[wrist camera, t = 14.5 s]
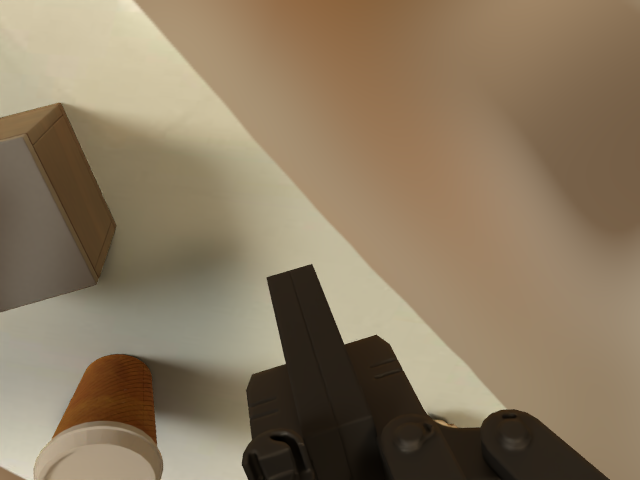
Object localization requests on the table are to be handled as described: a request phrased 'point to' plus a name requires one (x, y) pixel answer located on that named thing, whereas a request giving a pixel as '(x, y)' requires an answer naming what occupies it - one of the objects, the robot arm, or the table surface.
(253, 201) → the table surface
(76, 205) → the box
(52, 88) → the table surface
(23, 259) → the lid
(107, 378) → the disposable coffee cup
